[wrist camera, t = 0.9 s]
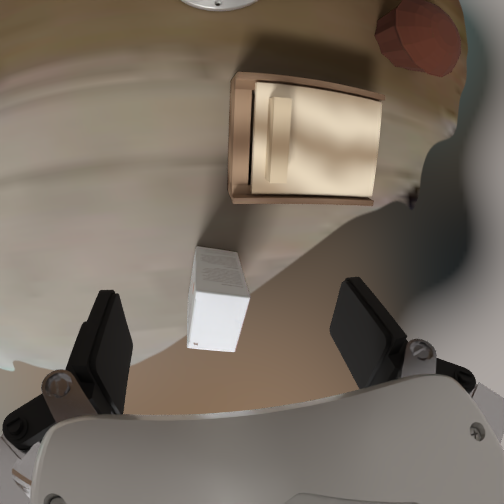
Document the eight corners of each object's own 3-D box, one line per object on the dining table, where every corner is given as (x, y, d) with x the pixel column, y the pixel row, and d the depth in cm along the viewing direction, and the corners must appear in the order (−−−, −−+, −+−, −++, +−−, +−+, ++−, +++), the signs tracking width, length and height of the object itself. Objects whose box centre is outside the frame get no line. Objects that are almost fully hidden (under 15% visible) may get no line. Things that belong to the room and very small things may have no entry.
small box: (226, 300, 40) (235, 354, 31) (187, 296, 39) (186, 349, 29) (238, 250, 37) (252, 297, 28) (195, 244, 36) (195, 290, 26)
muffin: (409, 93, 31) (459, 95, 22) (353, 40, 27) (400, 24, 18) (435, 45, 27) (481, 41, 18) (386, -5, 23) (430, -23, 14)
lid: (255, 83, 24) (261, 79, 21) (378, 102, 26) (393, 102, 24) (250, 191, 29) (256, 199, 26) (368, 195, 31) (382, 203, 28)
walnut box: (230, 80, 27) (237, 71, 22) (357, 96, 30) (385, 95, 25) (227, 189, 33) (233, 204, 28) (348, 191, 36) (372, 205, 30)
